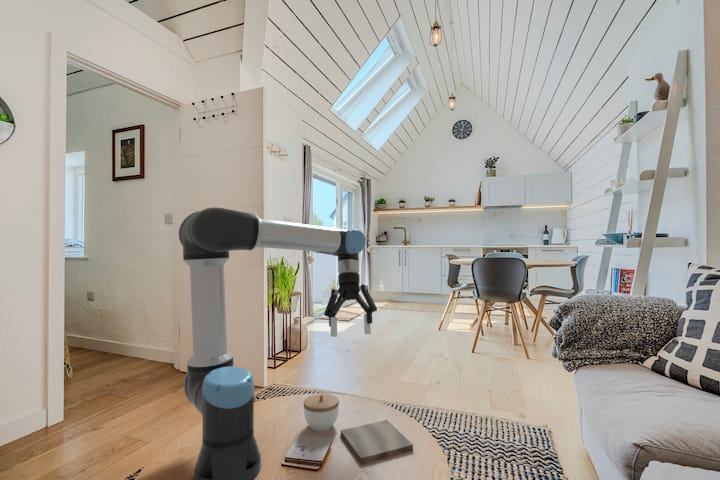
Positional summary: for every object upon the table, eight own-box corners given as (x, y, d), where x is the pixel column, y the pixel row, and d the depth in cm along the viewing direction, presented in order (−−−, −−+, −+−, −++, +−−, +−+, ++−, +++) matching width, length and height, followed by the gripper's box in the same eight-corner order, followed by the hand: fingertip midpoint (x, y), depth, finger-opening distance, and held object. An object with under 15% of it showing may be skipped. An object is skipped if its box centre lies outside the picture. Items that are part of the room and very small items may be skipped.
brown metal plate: (361, 464, 86) (361, 458, 86) (340, 435, 100) (340, 430, 100) (413, 450, 92) (412, 444, 92) (386, 424, 106) (386, 419, 106)
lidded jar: (337, 435, 100) (337, 402, 100) (300, 435, 100) (300, 402, 101) (340, 418, 111) (340, 388, 111) (307, 418, 111) (306, 388, 111)
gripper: (384, 270, 120) (388, 333, 113) (327, 280, 132) (327, 337, 126) (373, 266, 114) (377, 332, 107) (314, 276, 126) (314, 337, 120)
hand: (350, 335), depth 117 cm, fingers open, 13 cm apart
